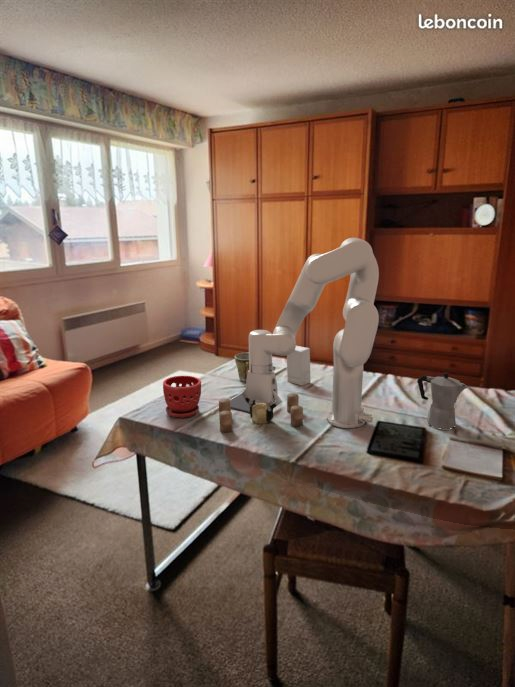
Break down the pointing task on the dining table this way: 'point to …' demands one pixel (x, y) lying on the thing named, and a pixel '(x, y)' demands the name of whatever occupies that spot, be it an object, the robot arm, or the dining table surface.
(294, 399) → the cylinder
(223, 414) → the cylinder
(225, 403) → the cylinder
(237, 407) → the mat
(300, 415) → the cylinder
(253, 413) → the tan faceted block
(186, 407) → the plant pot
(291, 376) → the skincare box
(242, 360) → the ceramic cup
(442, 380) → the coffeepot
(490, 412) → the dining table surface
